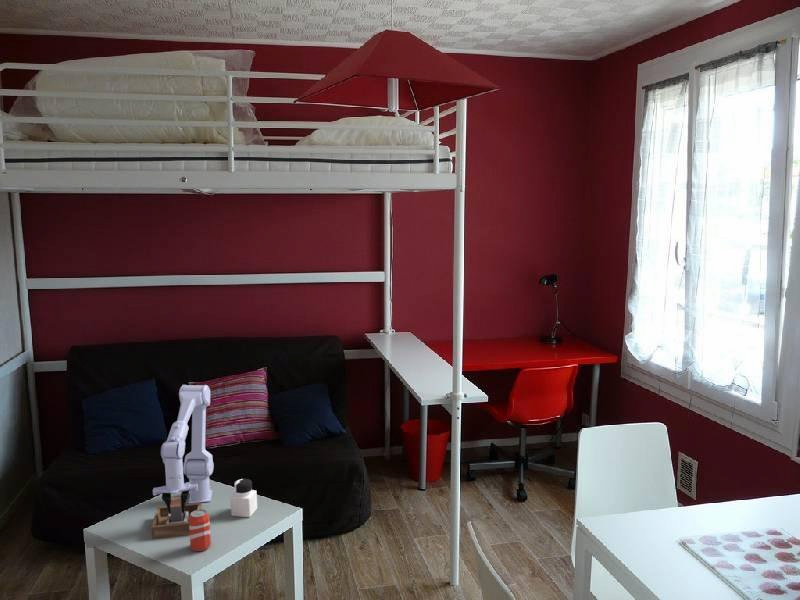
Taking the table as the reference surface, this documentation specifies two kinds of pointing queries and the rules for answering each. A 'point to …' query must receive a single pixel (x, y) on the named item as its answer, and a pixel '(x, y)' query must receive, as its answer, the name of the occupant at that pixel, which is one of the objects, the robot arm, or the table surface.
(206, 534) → the beverage can
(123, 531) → the table surface
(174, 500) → the rectangular block
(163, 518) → the walled box
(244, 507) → the medicine bottle
